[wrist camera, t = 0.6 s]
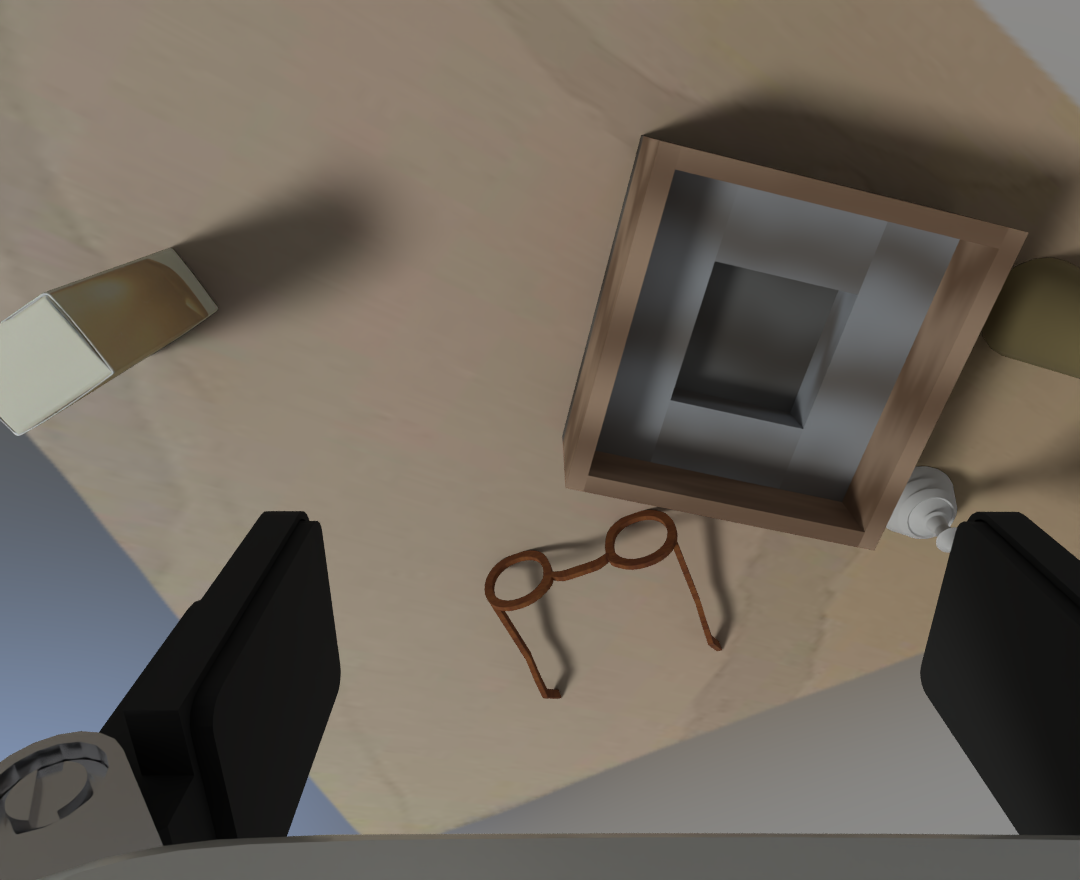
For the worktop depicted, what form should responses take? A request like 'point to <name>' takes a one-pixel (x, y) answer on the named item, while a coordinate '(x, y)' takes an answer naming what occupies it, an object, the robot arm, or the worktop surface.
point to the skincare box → (93, 334)
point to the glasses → (583, 569)
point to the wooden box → (774, 344)
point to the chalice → (926, 508)
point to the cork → (1038, 316)
